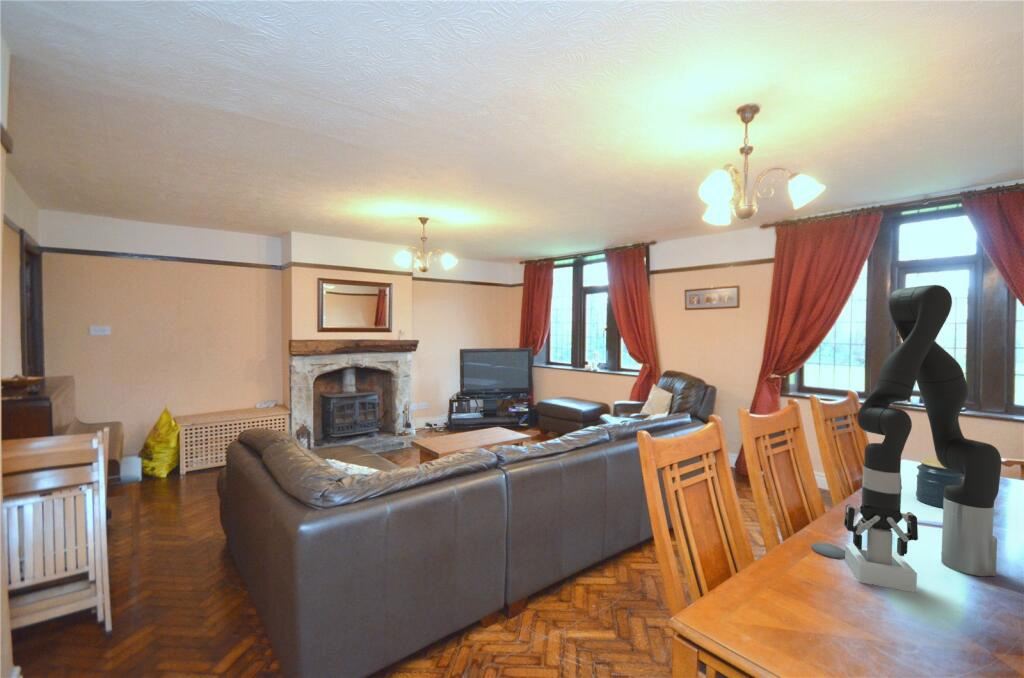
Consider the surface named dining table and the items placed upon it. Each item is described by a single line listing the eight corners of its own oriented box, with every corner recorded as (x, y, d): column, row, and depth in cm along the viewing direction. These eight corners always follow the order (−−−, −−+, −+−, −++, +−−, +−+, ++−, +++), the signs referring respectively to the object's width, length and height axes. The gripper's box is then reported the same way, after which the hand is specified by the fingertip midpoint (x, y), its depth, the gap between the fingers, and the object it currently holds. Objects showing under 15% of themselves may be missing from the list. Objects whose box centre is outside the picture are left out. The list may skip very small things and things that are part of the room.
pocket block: (896, 569, 117) (896, 552, 117) (916, 592, 106) (916, 573, 106) (844, 561, 121) (845, 544, 121) (859, 582, 110) (860, 563, 110)
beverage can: (895, 582, 111) (897, 533, 110) (872, 579, 112) (874, 531, 111) (883, 572, 115) (885, 525, 115) (862, 569, 116) (863, 523, 116)
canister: (959, 501, 166) (961, 453, 165) (970, 513, 155) (972, 461, 154) (912, 494, 173) (913, 447, 172) (919, 505, 162) (921, 455, 161)
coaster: (841, 547, 128) (841, 545, 128) (851, 561, 121) (851, 559, 121) (808, 542, 131) (808, 540, 131) (815, 555, 124) (815, 553, 124)
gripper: (910, 486, 114) (908, 550, 114) (842, 478, 119) (840, 539, 120) (924, 496, 107) (922, 564, 107) (851, 487, 112) (849, 552, 113)
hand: (879, 551), depth 113 cm, fingers open, 8 cm apart
